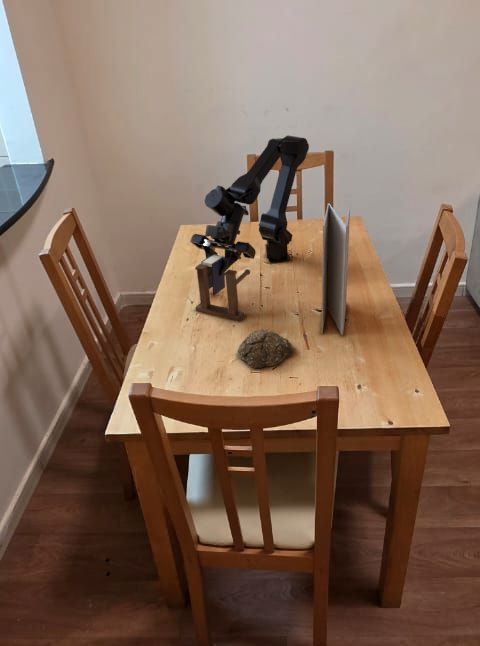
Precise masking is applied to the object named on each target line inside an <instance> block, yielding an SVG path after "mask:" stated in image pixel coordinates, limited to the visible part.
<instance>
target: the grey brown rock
mask: <svg viewBox="0 0 480 646" xmlns="http://www.w3.org/2000/svg"><path fill="white" fill-rule="evenodd" d="M292 353H293V347H292V344H291V342H289V340H288V339H287V338H286V337H284V336H282V335H280V334H278V333H277V332H275V331H271V330H268V329H262V328H261V329H259V330H253V331H252V332H251V333H249V334H248V336H246V337H245V339H244V340H243V341H242V343H241V344H240V345H239V347H238V350H237V357H238V359H240V360H242V361H244V362H246V363H247V365H248V366H249V367H250V368H253V369H263V368H265V367H272V366H276V365H277V364H278V365H279V364H280V363H281V362H282V361H283V360H284V359H285V358H288V357H290V356H291V355H292Z"/></svg>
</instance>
